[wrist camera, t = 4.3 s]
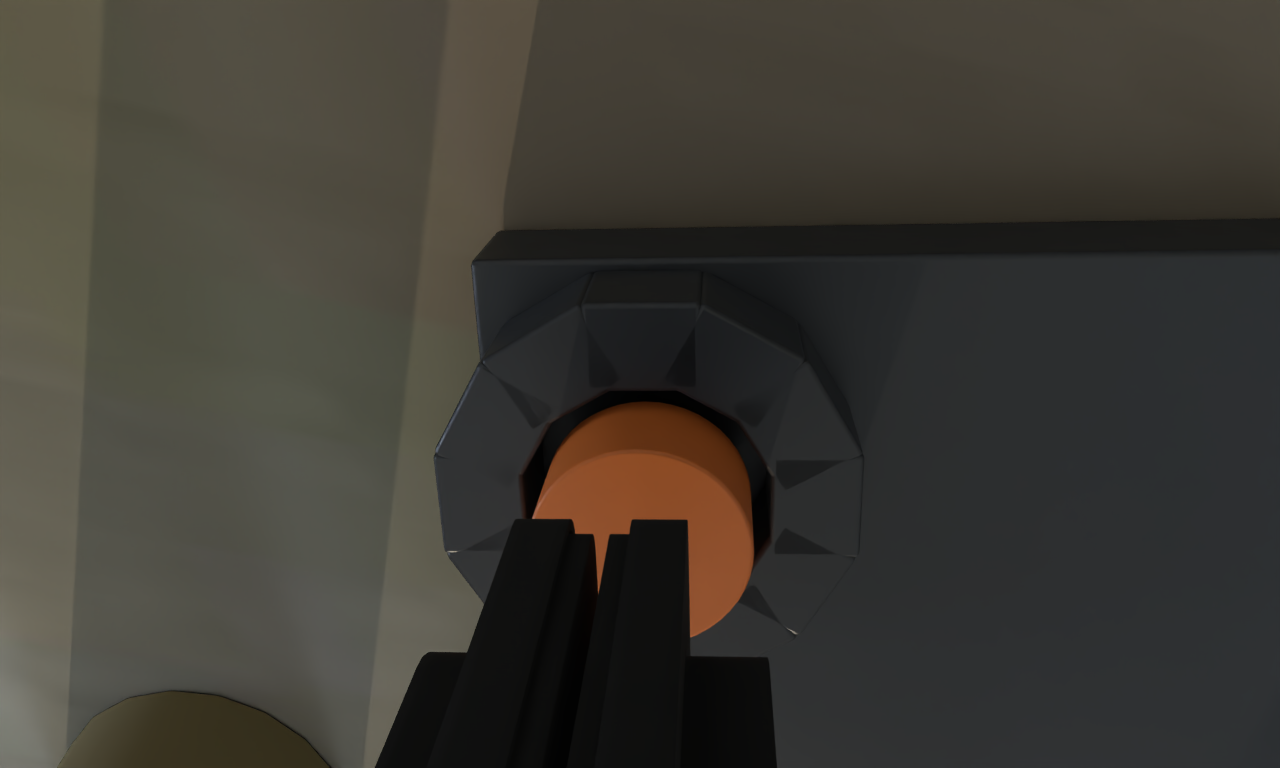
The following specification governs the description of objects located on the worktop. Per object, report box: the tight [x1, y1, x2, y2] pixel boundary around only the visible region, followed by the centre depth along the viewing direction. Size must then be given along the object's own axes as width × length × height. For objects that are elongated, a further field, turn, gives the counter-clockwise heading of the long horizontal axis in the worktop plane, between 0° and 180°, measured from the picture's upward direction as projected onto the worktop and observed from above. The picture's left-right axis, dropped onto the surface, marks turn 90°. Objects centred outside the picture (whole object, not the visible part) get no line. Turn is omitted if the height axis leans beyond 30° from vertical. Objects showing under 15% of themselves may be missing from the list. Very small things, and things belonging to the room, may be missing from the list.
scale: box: [434, 219, 1280, 768], centre depth 17 cm, size 16×14×4 cm
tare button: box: [532, 401, 754, 638], centre depth 13 cm, size 3×3×2 cm
